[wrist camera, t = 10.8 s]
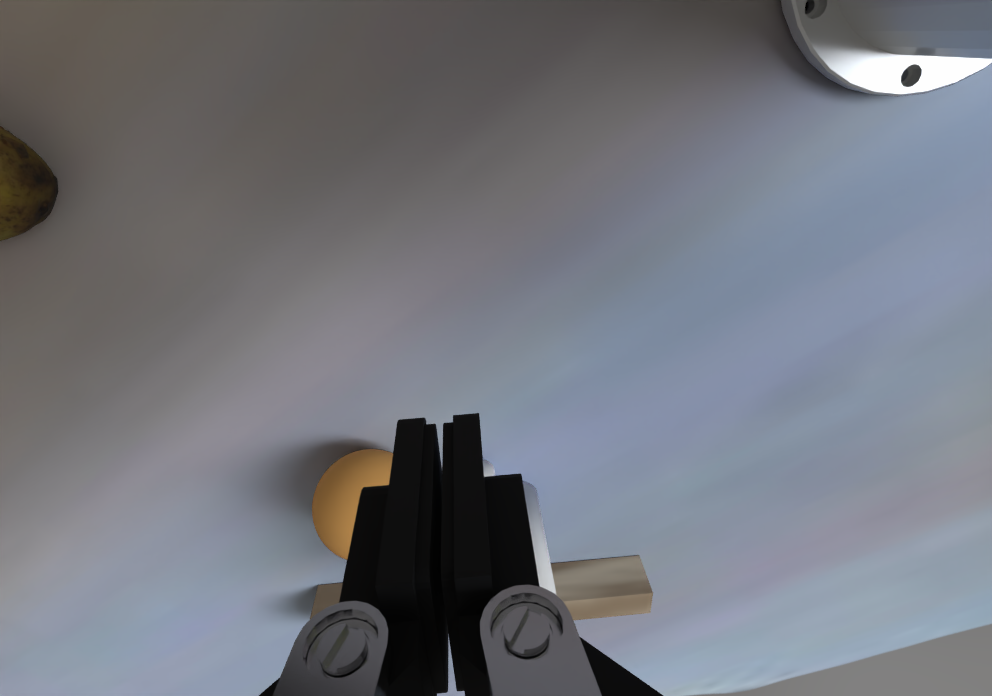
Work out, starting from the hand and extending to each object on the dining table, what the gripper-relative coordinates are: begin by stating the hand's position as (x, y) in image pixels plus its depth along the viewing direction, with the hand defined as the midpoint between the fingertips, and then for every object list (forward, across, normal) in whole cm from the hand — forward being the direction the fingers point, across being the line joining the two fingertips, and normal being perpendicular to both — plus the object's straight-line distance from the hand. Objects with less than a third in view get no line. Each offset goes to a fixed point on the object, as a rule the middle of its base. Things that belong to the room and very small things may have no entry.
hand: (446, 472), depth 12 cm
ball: (+14, +6, +14) cm, 21 cm away
